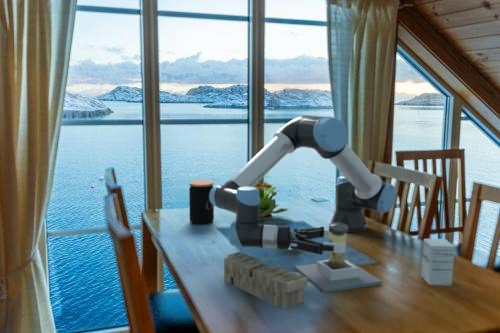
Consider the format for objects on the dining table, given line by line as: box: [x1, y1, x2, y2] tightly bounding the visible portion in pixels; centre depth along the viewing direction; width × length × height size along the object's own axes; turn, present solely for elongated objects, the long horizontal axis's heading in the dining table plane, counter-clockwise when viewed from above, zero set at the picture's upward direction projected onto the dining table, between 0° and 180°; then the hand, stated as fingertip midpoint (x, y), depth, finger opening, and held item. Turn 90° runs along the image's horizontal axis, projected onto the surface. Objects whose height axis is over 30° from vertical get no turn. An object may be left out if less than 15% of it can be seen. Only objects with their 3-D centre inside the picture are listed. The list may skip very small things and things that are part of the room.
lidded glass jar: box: [328, 222, 349, 270], centre depth 153 cm, size 6×6×16 cm
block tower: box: [223, 251, 309, 310], centre depth 143 cm, size 8×8×29 cm
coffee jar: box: [188, 179, 215, 226], centre depth 214 cm, size 11×11×18 cm
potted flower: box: [253, 181, 291, 221], centre depth 222 cm, size 25×24×18 cm
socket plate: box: [294, 259, 383, 294], centre depth 154 cm, size 20×20×4 cm
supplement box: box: [420, 238, 456, 286], centre depth 151 cm, size 7×7×13 cm
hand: (344, 241), depth 152 cm, fingers open, 13 cm apart
